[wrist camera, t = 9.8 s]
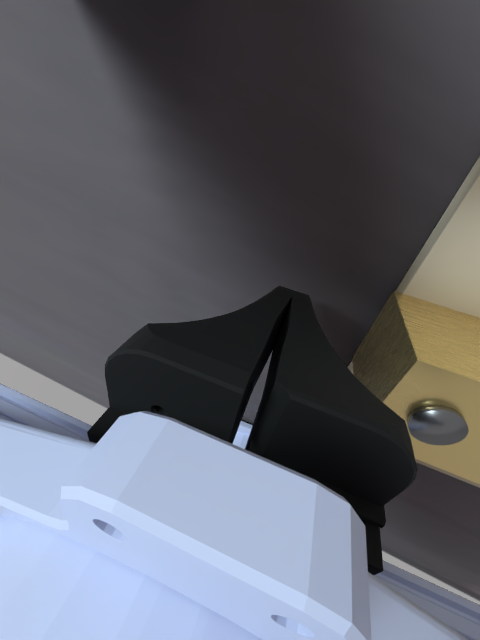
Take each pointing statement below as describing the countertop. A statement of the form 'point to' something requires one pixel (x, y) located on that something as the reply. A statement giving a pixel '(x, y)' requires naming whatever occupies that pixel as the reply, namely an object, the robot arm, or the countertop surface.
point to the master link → (428, 378)
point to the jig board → (451, 262)
